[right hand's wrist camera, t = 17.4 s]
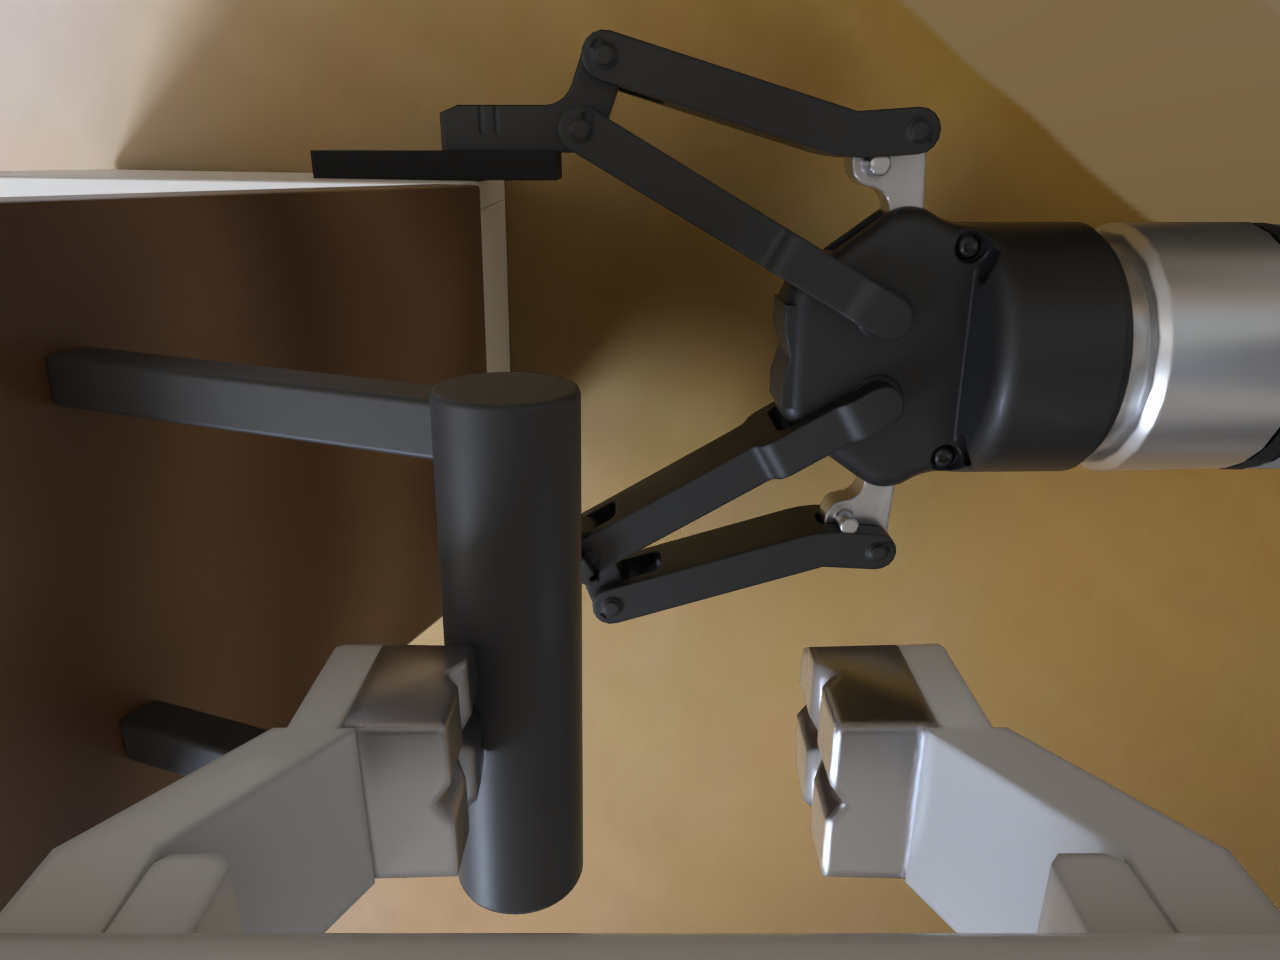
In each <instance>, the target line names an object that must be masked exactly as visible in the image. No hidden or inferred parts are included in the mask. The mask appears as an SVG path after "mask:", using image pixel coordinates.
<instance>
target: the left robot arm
mask: <svg viewBox="0 0 1280 960" xmlns="http://www.w3.org/2000/svg"><path fill="white" fill-rule="evenodd" d="M618 91H619V92H622V93H626V94H629V95H632V96H635V97H638V98H641V99H644V100H647V101H651V102H654V103H657V104H660V105H663V106H666V107H669V108H673V109H676V110H679V111H682V112H685V113H688V114H691V115H695V116H698V117H701V118H704V119H707V120H710V121H713V122H717V123H720V124H723V125H726V126H729V127H732V128H735V129H739V130H742V131H745V132H748V133H751V134H754V135H757V136H760V137H764V138H767V139H770V140H773V141H776V142H779V143H782V144H786V145H789V146H792V147H795V148H798V149H801V150H804V151H808V152H812V153H816V154H820V155H826V156H834V157H845V172H846V174H847V176H848V178H849V179H850V180H851V181H852V182H854V183H855V184H857V185H862V186H866V187H869V188H871V189H872V190H874V191H875V193H876V194H877V195H878V197H879V200H880V206H881V209H879V210H877V211H876V212H874V213H873V214H872V215H870V216H869V217H867V218H866V219H865V220H863V221H862V222H860V223H859V224H858V225H856V226H855V227H853V228H852V229H851V230H849V231H848V232H846V233H845V234H844V235H842V236H841V237H839V238H838V239H837V240H835V241H834V242H832V243H831V244H830V245H828V246H827V247H825V248H824V249H823V250H821V249H820V248H818V247H816V246H815V245H813V244H812V243H810V242H808V241H807V240H805V239H803V238H802V237H800V236H798V235H797V234H795V233H793V232H792V231H790V230H788V229H787V228H785V227H783V226H782V225H780V224H778V223H777V222H775V221H773V220H772V219H770V218H769V217H767V216H765V215H764V214H762V213H760V212H759V211H757V210H756V209H754V208H752V207H751V206H749V205H748V204H746V203H744V202H743V201H741V200H739V199H738V198H736V197H735V196H733V195H731V194H730V193H728V192H726V191H725V190H723V189H722V188H720V187H718V186H717V185H715V184H713V183H712V182H710V181H709V180H707V179H705V178H704V177H702V176H701V175H699V174H697V173H696V172H694V171H692V170H691V169H689V168H688V167H686V166H684V165H683V164H681V163H679V162H678V161H676V160H675V159H673V158H671V157H670V156H668V155H666V154H665V153H663V152H662V151H660V150H658V149H657V148H655V147H654V146H652V145H650V144H649V143H647V142H645V141H644V140H642V139H641V138H639V137H637V136H636V135H634V134H632V133H631V132H629V131H628V130H626V129H624V128H623V127H621V126H619V125H618V124H616V123H615V122H613V121H611V120H610V119H609V117H610V114H611V111H612V108H613V105H614V102H615V99H616V96H617V93H618ZM440 124H441V138H442V151H372V150H319V151H311V159H312V168H313V177H314V178H327V179H384V180H558V179H560V178H562V161H561V152H574V153H576V154H577V155H579V156H581V157H582V158H584V159H586V160H587V161H589V162H591V163H592V164H594V165H596V166H597V167H599V168H601V169H602V170H604V171H606V172H607V173H609V174H611V175H612V176H614V177H616V178H617V179H619V180H621V181H622V182H624V183H625V184H627V185H629V186H630V187H632V188H634V189H635V190H637V191H639V192H640V193H642V194H644V195H645V196H647V197H649V198H650V199H652V200H654V201H655V202H657V203H659V204H660V205H662V206H664V207H665V208H667V209H669V210H670V211H672V212H674V213H675V214H677V215H678V216H680V217H682V218H683V219H685V220H687V221H688V222H690V223H692V224H693V225H695V226H697V227H698V228H700V229H702V230H703V231H705V232H707V233H708V234H710V235H712V236H713V237H715V238H717V239H718V240H720V241H722V242H723V243H725V244H727V245H728V246H730V247H731V248H733V249H735V250H736V251H738V252H740V253H741V254H743V255H745V256H746V257H748V258H750V259H751V260H753V261H755V262H756V263H758V264H760V265H761V266H763V267H764V268H766V269H768V270H769V271H771V272H772V273H774V274H775V275H777V276H779V277H780V278H782V279H784V280H785V282H784V283H783V285H782V287H781V289H780V292H779V295H774V311H773V321H774V325H775V330H776V335H777V339H778V347H777V350H776V354H775V357H774V360H773V363H772V366H771V372H770V393H771V395H772V396H773V398H774V402H772V403H771V404H769V405H767V406H765V407H763V408H762V409H760V410H758V411H756V412H755V413H753V414H752V415H750V416H749V417H748V418H747V420H746V421H745V422H744V423H743V424H742V425H740V426H739V427H737V428H735V429H733V430H732V431H730V432H728V433H726V434H724V435H723V436H721V437H719V438H717V439H715V440H714V441H712V442H710V443H708V444H706V445H705V446H703V447H701V448H699V449H697V450H696V451H694V452H692V453H690V454H688V455H686V456H685V457H683V458H681V459H679V460H677V461H676V462H674V463H672V464H670V465H668V466H667V467H665V468H663V469H661V470H659V471H658V472H656V473H654V474H652V475H650V476H649V477H647V478H645V479H643V480H641V481H640V482H638V483H636V484H634V485H632V486H630V487H629V488H627V489H625V490H623V491H621V492H620V493H618V494H616V495H614V496H612V497H611V498H609V499H607V500H605V501H603V502H602V503H600V504H598V505H596V506H594V507H593V508H591V509H589V510H587V511H585V512H584V513H582V514H581V568H582V583H583V584H585V586H586V588H587V590H588V593H589V595H590V597H591V600H592V602H593V612H594V614H595V615H596V617H597V618H598V619H599V620H601V621H602V622H605V623H609V624H611V623H619V622H622V621H626V620H629V619H633V618H637V617H640V616H644V615H648V614H651V613H655V612H659V611H662V610H666V609H670V608H673V607H677V606H681V605H684V604H688V603H692V602H695V601H699V600H703V599H706V598H710V597H714V596H717V595H721V594H725V593H728V592H732V591H736V590H739V589H743V588H747V587H750V586H754V585H758V584H761V583H765V582H769V581H772V580H776V579H779V578H783V577H787V576H790V575H794V574H798V573H801V572H805V571H809V570H812V569H816V568H820V567H841V568H862V569H879V568H883V567H885V566H887V565H889V564H890V562H891V561H892V560H893V559H894V557H895V554H896V546H895V544H894V542H893V540H892V539H891V537H890V536H889V534H888V533H887V527H888V521H889V515H890V509H891V503H892V497H893V491H894V485H897V484H900V483H902V482H904V481H906V480H908V479H910V478H911V477H914V476H916V475H919V474H922V473H925V472H929V471H956V472H997V471H1063V470H1069V469H1071V468H1073V467H1076V466H1077V465H1079V464H1080V465H1081V466H1083V467H1084V468H1086V469H1091V470H1095V471H1130V470H1169V469H1209V468H1220V469H1244V468H1280V224H1279V225H1273V224H1267V223H1250V222H1114V223H1105V224H1103V225H1101V226H1099V227H1097V228H1095V229H1094V228H1092V227H1090V226H1088V225H1087V224H1084V223H1080V222H948V221H945V220H943V219H941V218H939V217H937V216H936V215H934V214H932V213H931V212H929V211H928V210H926V209H923V203H924V178H925V154H926V152H927V151H929V150H930V149H931V148H932V147H934V145H935V144H936V142H937V141H938V139H939V136H940V132H941V126H940V120H939V118H938V117H937V115H936V113H935V112H933V111H932V110H930V109H929V108H924V107H910V108H896V109H881V110H867V111H856V110H852V109H849V108H846V107H843V106H840V105H837V104H834V103H831V102H828V101H825V100H822V99H819V98H816V97H813V96H810V95H807V94H804V93H800V92H797V91H794V90H791V89H788V88H785V87H782V86H779V85H776V84H773V83H770V82H767V81H764V80H761V79H758V78H755V77H751V76H748V75H745V74H742V73H739V72H736V71H733V70H730V69H727V68H724V67H721V66H718V65H715V64H712V63H709V62H706V61H702V60H699V59H696V58H693V57H690V56H687V55H684V54H681V53H678V52H675V51H672V50H669V49H666V48H663V47H660V46H657V45H653V44H650V43H647V42H644V41H641V40H638V39H635V38H632V37H629V36H626V35H623V34H620V33H617V32H614V31H611V30H599V31H596V32H593V33H592V34H591V35H590V36H589V37H587V38H586V40H585V42H584V44H583V46H582V53H581V56H580V59H579V63H578V66H577V69H576V72H575V75H574V79H573V82H572V85H571V87H570V89H569V91H568V92H567V94H566V95H565V96H564V97H563V98H562V99H561V100H559V101H558V102H556V103H553V104H549V105H457V106H454V107H452V108H450V109H447V110H445V111H443V112H441V113H440ZM826 456H830V457H831V458H833V459H834V460H835V461H837V462H838V463H840V464H841V465H842V466H844V467H845V468H846V469H848V470H849V471H851V472H852V473H853V474H855V475H856V479H855V480H854V482H853V483H852V484H851V485H850V486H849V487H848V488H846V489H844V490H839V491H834V492H830V493H828V494H827V495H826V496H825V497H824V498H823V500H822V501H821V504H820V505H806V506H798V507H794V508H789V509H785V510H782V511H778V512H774V513H771V514H767V515H764V516H760V517H756V518H753V519H749V520H746V521H742V522H739V523H735V524H731V525H728V526H724V527H721V528H717V529H713V530H710V531H706V532H703V533H699V534H695V535H692V536H688V537H685V538H681V539H678V540H674V541H670V542H667V543H663V544H660V545H656V546H652V547H649V548H645V547H647V546H648V545H650V544H652V543H654V542H656V541H658V540H659V539H661V538H663V537H665V536H667V535H669V534H671V533H672V532H674V531H676V530H678V529H680V528H682V527H684V526H685V525H687V524H689V523H691V522H693V521H695V520H696V519H698V518H700V517H702V516H704V515H706V514H708V513H709V512H711V511H713V510H715V509H717V508H719V507H721V506H722V505H724V504H726V503H728V502H730V501H732V500H733V499H735V498H737V497H739V496H741V495H743V494H745V493H746V492H748V491H750V490H752V489H754V488H756V487H758V486H759V485H761V484H763V483H765V482H767V481H769V480H772V479H783V478H786V477H789V476H791V475H793V474H795V473H797V472H799V471H800V470H802V469H804V468H806V467H808V466H810V465H812V464H813V463H815V462H817V461H819V460H821V459H823V458H824V457H826ZM643 548H645V549H643ZM641 549H642V550H641Z"/></svg>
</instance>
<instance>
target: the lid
mask: <svg viewBox="0 0 1280 960" xmlns="http://www.w3.org/2000/svg"><path fill="white" fill-rule="evenodd" d="M442 616H443V628H444V644H445V646H475V649H476V651H477V654H478V666H479V678H480V684H479V688H478V692H477V695H476V699H475V702H474V707H475V708H476V709H477V711H478V712H479V714H480V715H481V717H482V723H483V739H484V760H483V769H482V779H481V784H480V789H479V793H478V798H477V800H476V801H475V802H474V803H472V804H471V805H470V806H469V807H468V813H469V826H470V830H469V834H468V838H467V842H466V846H465V850H464V854H463V858H462V862H461V865H460V869H459V879H460V883H461V885H462V887H463V889H464V891H465V892H466V893H467V895H468V896H469V897H470V898H471V899H472V900H473V901H474V902H475V903H477V904H478V905H480V906H482V907H484V908H486V909H488V910H491V911H494V912H498V913H504V914H526V913H532V912H536V911H539V910H542V909H545V908H548V907H550V906H552V905H554V904H556V903H557V902H559V901H560V900H562V899H563V898H564V897H565V896H566V895H568V893H569V892H570V891H571V890H572V889H573V888H574V886H575V885H576V883H577V881H578V879H579V877H580V875H581V872H582V867H583V778H582V568H581V393H580V390H579V387H578V386H577V385H576V384H575V383H574V382H572V381H569V380H567V379H564V378H561V377H557V376H553V375H547V374H540V373H530V372H489V373H487V357H486V332H485V307H484V282H483V256H482V231H481V206H480V188H479V186H477V185H461V184H417V185H384V186H351V187H318V188H285V189H252V190H219V191H186V192H153V193H121V194H88V195H55V196H22V197H0V912H1V911H2V910H3V908H4V907H5V906H6V905H7V904H8V902H9V901H10V900H11V899H12V898H13V896H14V895H15V894H16V893H17V892H18V890H19V889H20V888H21V887H22V886H23V884H24V883H25V882H26V881H27V880H28V878H29V877H30V876H31V875H32V874H33V872H34V871H35V870H36V869H37V868H38V866H39V865H40V864H41V863H42V862H43V860H44V859H45V858H46V857H47V856H48V854H49V853H50V852H51V851H52V850H53V849H54V848H56V847H58V846H60V845H61V844H63V843H65V842H67V841H69V840H70V839H72V838H74V837H76V836H78V835H80V834H81V833H83V832H85V831H87V830H89V829H90V828H92V827H94V826H96V825H98V824H99V823H101V822H103V821H105V820H107V819H109V818H110V817H112V816H114V815H116V814H118V813H119V812H121V811H123V810H125V809H127V808H129V807H130V806H132V805H134V804H136V803H138V802H139V801H141V800H143V799H145V798H147V797H148V796H150V795H152V794H154V793H156V792H158V791H159V790H161V789H163V788H165V787H167V786H168V785H170V784H172V783H174V782H176V781H177V780H179V779H181V778H183V777H185V776H187V775H188V774H190V773H192V772H194V771H196V770H197V769H199V768H201V767H203V766H205V765H206V764H208V763H210V762H212V761H214V760H216V759H217V758H219V757H221V756H223V755H225V754H226V753H228V752H230V751H232V750H234V749H235V748H237V747H239V746H241V745H243V744H245V743H246V742H248V741H250V740H252V739H254V738H255V737H257V736H259V735H261V734H263V733H265V732H266V731H268V730H270V729H272V728H287V727H288V725H289V723H290V722H291V720H292V718H293V717H294V715H295V713H296V712H297V710H298V708H299V707H300V705H301V704H302V702H303V700H304V699H305V697H306V695H307V694H308V692H309V690H310V689H311V687H312V685H313V684H314V682H315V680H316V679H317V677H318V675H319V674H320V672H321V671H322V669H323V667H324V666H325V664H326V662H327V661H328V659H329V657H330V656H331V654H332V652H333V651H334V649H335V648H336V647H338V646H341V645H350V644H384V645H408V644H409V643H410V642H411V641H413V640H414V639H415V638H416V637H418V636H419V635H420V634H421V633H423V632H424V631H425V630H426V629H427V628H429V627H430V626H431V625H432V624H434V623H435V622H436V621H437V620H439V619H440V618H441V617H442Z"/></svg>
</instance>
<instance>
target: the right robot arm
mask: <svg viewBox="0 0 1280 960" xmlns="http://www.w3.org/2000/svg"><path fill="white" fill-rule="evenodd" d="M479 684H480V678H479V666H478V654H477V651H476V649H475V646H433V645H384V644H350V645H341V646H338V647H336V648H335V649H334V651H333V652H332V654H331V656H330V657H329V659H328V661H327V662H326V664H325V666H324V667H323V669H322V671H321V672H320V674H319V675H318V677H317V679H316V680H315V682H314V684H313V685H312V687H311V689H310V690H309V692H308V694H307V695H306V697H305V699H304V700H303V702H302V704H301V705H300V707H299V708H298V710H297V712H296V713H295V715H294V717H293V718H292V720H291V722H290V723H289V725H288V727H287V728H272V729H270V730H268V731H266V732H265V733H263V734H261V735H259V736H257V737H255V738H254V739H252V740H250V741H248V742H246V743H245V744H243V745H241V746H239V747H237V748H235V749H234V750H232V751H230V752H228V753H226V754H225V755H223V756H221V757H219V758H217V759H216V760H214V761H212V762H210V763H208V764H206V765H205V766H203V767H201V768H199V769H197V770H196V771H194V772H192V773H190V774H188V775H187V776H185V777H183V778H181V779H179V780H177V781H176V782H174V783H172V784H170V785H168V786H167V787H165V788H163V789H161V790H159V791H158V792H156V793H154V794H152V795H150V796H148V797H147V798H145V799H143V800H141V801H139V802H138V803H136V804H134V805H132V806H130V807H129V808H127V809H125V810H123V811H121V812H119V813H118V814H116V815H114V816H112V817H110V818H109V819H107V820H105V821H103V822H101V823H99V824H98V825H96V826H94V827H92V828H90V829H89V830H87V831H85V832H83V833H81V834H80V835H78V836H76V837H74V838H72V839H70V840H69V841H67V842H65V843H63V844H61V845H60V846H58V847H56V848H54V849H53V850H52V851H51V852H50V853H49V854H48V856H47V857H46V858H45V859H44V860H43V862H42V863H41V864H40V865H39V866H38V868H37V869H36V870H35V871H34V872H33V874H32V875H31V876H30V877H29V878H28V880H27V881H26V882H25V883H24V884H23V886H22V887H21V888H20V889H19V890H18V892H17V893H16V894H15V895H14V896H13V898H12V899H11V900H10V901H9V902H8V904H7V905H6V906H5V907H4V908H3V910H2V911H1V912H0V960H1280V911H1279V910H1278V909H1277V908H1276V907H1275V905H1274V904H1273V903H1272V902H1271V901H1270V899H1269V898H1268V897H1267V896H1266V895H1265V893H1264V892H1263V891H1262V890H1261V888H1260V887H1259V886H1258V885H1257V884H1256V882H1255V881H1254V880H1253V879H1252V878H1251V876H1250V875H1249V874H1248V873H1247V872H1246V870H1245V869H1244V868H1243V867H1242V865H1241V864H1240V863H1239V862H1238V861H1237V859H1236V858H1235V857H1234V856H1233V855H1232V853H1231V852H1230V851H1229V850H1227V849H1225V848H1224V847H1222V846H1220V845H1218V844H1216V843H1214V842H1213V841H1211V840H1209V839H1207V838H1205V837H1204V836H1202V835H1200V834H1198V833H1196V832H1195V831H1193V830H1191V829H1189V828H1187V827H1186V826H1184V825H1182V824H1180V823H1178V822H1177V821H1175V820H1173V819H1171V818H1169V817H1167V816H1166V815H1164V814H1162V813H1160V812H1158V811H1157V810H1155V809H1153V808H1151V807H1149V806H1148V805H1146V804H1144V803H1142V802H1140V801H1139V800H1137V799H1135V798H1133V797H1131V796H1130V795H1128V794H1126V793H1124V792H1122V791H1120V790H1119V789H1117V788H1115V787H1113V786H1111V785H1110V784H1108V783H1106V782H1104V781H1102V780H1101V779H1099V778H1097V777H1095V776H1093V775H1092V774H1090V773H1088V772H1086V771H1084V770H1083V769H1081V768H1079V767H1077V766H1075V765H1073V764H1072V763H1070V762H1068V761H1066V760H1064V759H1063V758H1061V757H1059V756H1057V755H1055V754H1054V753H1052V752H1050V751H1048V750H1046V749H1045V748H1043V747H1041V746H1039V745H1037V744H1036V743H1034V742H1032V741H1030V740H1028V739H1027V738H1025V737H1023V736H1021V735H1019V734H1017V733H1016V732H1014V731H1012V730H1010V729H1008V728H993V726H992V725H991V723H990V722H989V720H988V718H987V717H986V715H985V713H984V712H983V710H982V708H981V707H980V705H979V704H978V702H977V700H976V699H975V697H974V695H973V694H972V692H971V691H970V689H969V687H968V686H967V684H966V682H965V681H964V679H963V678H962V676H961V674H960V673H959V671H958V669H957V668H956V666H955V665H954V663H953V661H952V660H951V658H950V656H949V655H948V653H947V652H946V650H945V648H944V647H942V646H941V645H939V644H914V645H876V646H836V647H807V648H804V650H803V655H802V660H801V670H800V684H801V687H802V691H803V695H804V698H805V702H806V705H805V707H804V708H803V709H802V710H801V711H800V712H799V713H798V715H797V729H796V757H797V770H798V777H799V784H800V788H801V793H802V797H803V800H804V801H805V802H807V803H808V804H809V805H810V806H811V807H812V815H811V828H810V830H811V833H812V837H813V841H814V845H815V849H816V853H817V857H818V861H819V864H820V868H821V872H822V876H835V877H872V878H906V879H905V883H906V884H907V885H908V886H909V887H910V888H911V889H913V890H914V891H915V892H916V893H917V894H918V895H919V896H920V897H921V898H922V899H923V900H924V901H925V902H926V903H927V904H928V905H929V906H930V907H931V908H932V909H933V910H934V911H935V912H936V913H937V914H938V915H939V916H940V917H941V918H942V919H943V920H944V921H945V922H946V923H947V924H948V925H949V926H950V927H951V928H952V929H953V930H954V931H955V932H956V933H325V932H326V931H327V930H328V929H329V928H330V927H331V926H332V925H333V924H334V923H335V922H336V921H337V920H338V919H339V918H340V917H341V916H342V915H343V914H344V913H345V912H346V911H347V910H348V909H349V908H350V907H351V906H352V905H353V904H354V903H355V902H356V901H357V900H358V899H359V898H360V897H361V896H362V895H363V894H364V893H365V892H366V891H367V890H368V889H369V888H370V887H371V886H372V885H373V884H374V883H375V880H374V878H407V877H442V876H458V873H459V869H460V865H461V862H462V858H463V854H464V850H465V846H466V842H467V838H468V834H469V830H470V826H469V813H468V807H469V806H470V805H471V804H472V803H474V802H475V801H476V800H477V798H478V793H479V789H480V784H481V779H482V769H483V760H484V739H483V723H482V717H481V715H480V714H479V712H478V711H477V709H476V708H475V707H474V702H475V699H476V695H477V692H478V688H479Z"/></svg>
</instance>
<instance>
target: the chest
mask: <svg viewBox="0 0 1280 960" xmlns="http://www.w3.org/2000/svg"><path fill="white" fill-rule="evenodd" d="M417 184H461V185H477V186H479V188H480V206H481V231H482V256H483V282H484V307H485V332H486V357H487V373H489V372H510V346H509V313H508V281H507V249H506V216H505V184H504V180H384V179H327V178H314V177H313V173H293V172H235V171H177V170H118V169H96V170H46V171H0V197H22V196H55V195H88V194H121V193H153V192H186V191H219V190H252V189H285V188H318V187H351V186H384V185H417Z"/></svg>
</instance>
